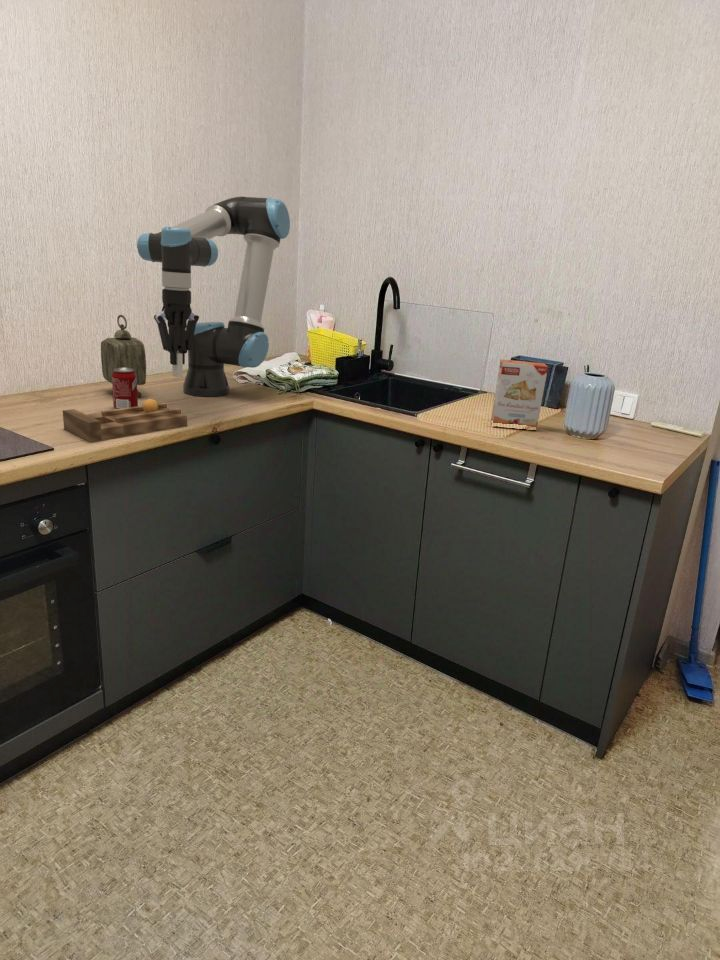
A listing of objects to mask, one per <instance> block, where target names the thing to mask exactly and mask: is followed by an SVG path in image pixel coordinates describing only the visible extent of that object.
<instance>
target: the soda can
mask: <svg viewBox="0 0 720 960" xmlns="http://www.w3.org/2000/svg"><path fill="white" fill-rule="evenodd" d="M111 385H112V402H113V403H112V405H113V410H115V409H123V408H130V407H137V406H139V404H138V403H139V401H138V398H139V397H137V390H138V385H137V375H136V374H135V372H134V369H132V368H115V369H114V373H113V374H112V383H111Z"/></svg>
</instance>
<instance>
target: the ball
mask: <svg viewBox="0 0 720 960" xmlns="http://www.w3.org/2000/svg"><path fill="white" fill-rule="evenodd" d="M158 404H159V403H158V402H157V400H155V399H153V398H147V399H145V400H144V401H143V403H142V406H143V409H144V411H145V412H147V413H149V412H156V411H157V409H158Z"/></svg>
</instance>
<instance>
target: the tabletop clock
mask: <svg viewBox="0 0 720 960" xmlns="http://www.w3.org/2000/svg"><path fill="white" fill-rule="evenodd" d="M120 318H122V319H123V320H124V321H123V322H124V323H125V325H124V324H122V323H121V324H120ZM117 326H118V328H120V329H118V330H116V331H115V333H114V335H113V337H107V338H105V339H103V340H102V341H101V342H100V361H101V372H102V377H103V378H104V380H106V381H107V382H108V383H111V384H112V374H113V373H114V369H115V368H132V369H134V372H135V374H136V375H137V386H143V385H146V383H147V382H146V381H147V359H146V358H147V356H146V348H145V344H144V342H143V341H141V340H140V339H139V338H136V337H133V336H132V335H131V333H130V332H129V331H128V330H126V329H127V327H128V321H127V319H126V317H125V316H124V315H123V314H118V315H117ZM142 394H143V393H142V392H139V390H138V389H137V398H142V396H143V395H142Z"/></svg>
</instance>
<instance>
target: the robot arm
mask: <svg viewBox="0 0 720 960" xmlns="http://www.w3.org/2000/svg"><path fill="white" fill-rule="evenodd" d="M290 218H291V217H290V214H289V210H288V208H287V205H286V204H285V202H283V201H282V200H280V199H278V198H272V197H253V196H252V197H251V196H235V197H231V198H230V197H229V198H227V199H225V200H221V201H218V202H216V203H214V204H212V205H209V206H208V207H207V208H206V210H205V212H203V213H200V214H198V215H196V216H193V217H191V218H189V219H187V220H185V221H182V222H180V223H178V224H176V225H173V226H164V227H162V229H161V231H159V232H157V233H153V232H147V233H144V232H143V233H141V234H140V236H139V237H138V239H137V241H136V249H137V253H138V255H139V256H140V258H141V259H142V260H144V261H149V262H152V263H161V282H162V283H161V285H162V287H164V288H163V289H161V298H162V308H161V312H160V313H159V314H154V316H153V319H154V321H155V322H156V324H157V328H158V331H159V336H160V341H161V344H162V349H163V351H166V352H168V353H169V363H170V365H172V377H177V378H182V377H183V371H184V370H183V365H185V363H186V354H187V361H188V363H187V364H188V365H187V366H188V368H187V372H186V375H185V379H184V382H183V385H182V386H183V387H182V388H183V389H182V390H183V392H184V393H185V394H187V395H191V396H196V397H197V396H198V397H220V396H221V397H222V396H226V395H228V394H229V392H230V385H229V383H228V379H227V376H226V372H225V365H230V366H237V367H241V368H244V369H245V368H250V369H251V368H258V367H260V365H261V364H263V362H264V361H265V359H266V357H267V355H268V352H269V346H270V345H269V337H268V336H267V334H266V333H265V327H264V326H263V325H262V318H263V311H264V306H265V301H266V295H267V291H268V290H267V289H268V285H269V279H270V272H271V268H272V263H273V262H272V261H273V255H274V251H275V250H276V249H277V248H279V247H280V244H281V240H282V239H286V238H287V237H288V235H289V233H290V230H291V229H290V227H291V221H290V220H291V219H290ZM227 235H242V236H243V239H244V241H245V242H246V249H245V254H244V255H245V256H244V259H243V260H244V261H243V267H242V271H241V277H240V283H239V289H238V293H237V294H238V295H237V301H236V306H235V312H234V317H232V318H231V319H230V320H228V324H227V327H226V326H225V323H224V322H223V321H222V322H221V321H213V322H212V321H210V322H209V321H208V322H198V321H199V320H200V315H197V314H194V313H193V311H192V308H191V305H192V291H191V290H190V289H191V288H192V266H193V267H203V268H205V267H211V266H212V265H214V264H215V263H216V262H217V260H218V257H219V249H218V247H217V244H216V242H214V241H213V240H212V239H213V238H215V237H224V236H227ZM166 321H167V322H166Z"/></svg>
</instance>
